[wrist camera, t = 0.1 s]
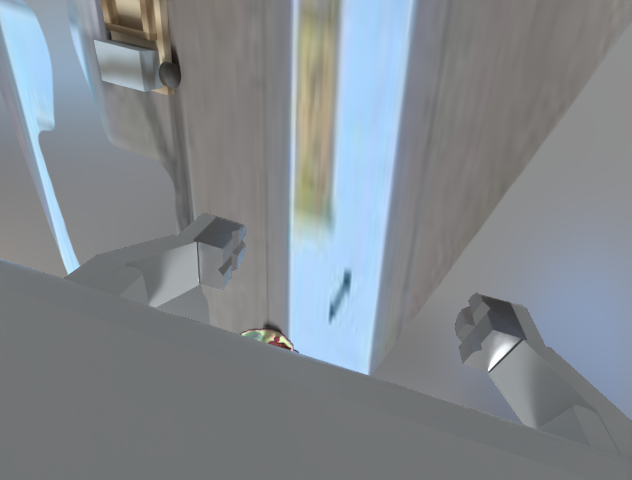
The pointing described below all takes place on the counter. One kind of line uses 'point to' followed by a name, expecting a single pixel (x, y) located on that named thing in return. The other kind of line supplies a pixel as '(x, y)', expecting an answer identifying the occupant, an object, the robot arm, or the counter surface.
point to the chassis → (138, 46)
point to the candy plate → (270, 338)
